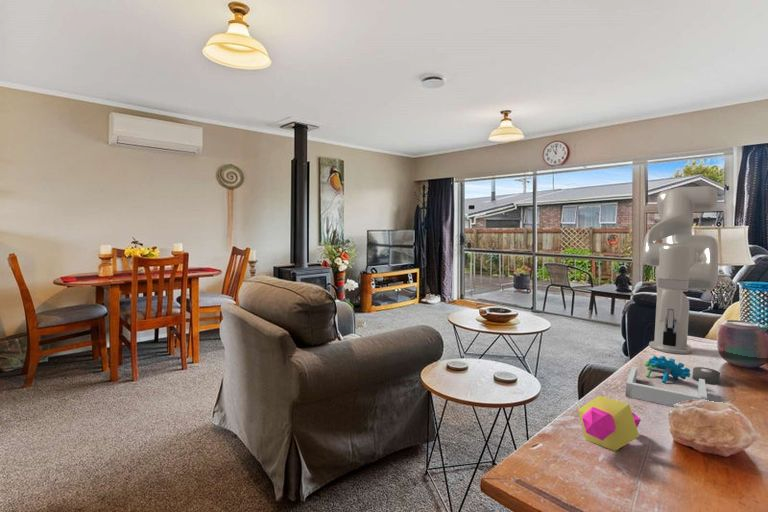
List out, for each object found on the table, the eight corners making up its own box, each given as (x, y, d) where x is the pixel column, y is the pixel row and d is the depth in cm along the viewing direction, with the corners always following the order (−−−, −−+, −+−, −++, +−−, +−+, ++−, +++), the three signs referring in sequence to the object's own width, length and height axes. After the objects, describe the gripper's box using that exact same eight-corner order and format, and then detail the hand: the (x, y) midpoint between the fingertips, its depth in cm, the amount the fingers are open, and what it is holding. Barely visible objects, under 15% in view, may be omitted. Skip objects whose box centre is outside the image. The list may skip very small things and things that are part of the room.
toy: (656, 445, 82) (638, 392, 87) (630, 453, 70) (612, 391, 74) (604, 448, 88) (590, 398, 93) (573, 455, 76) (558, 398, 81)
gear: (697, 378, 112) (682, 356, 109) (691, 396, 110) (676, 374, 107) (655, 370, 122) (640, 351, 119) (648, 387, 120) (633, 367, 117)
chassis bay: (631, 378, 116) (632, 366, 116) (703, 392, 107) (704, 379, 106) (625, 396, 104) (626, 383, 104) (706, 413, 94) (707, 399, 94)
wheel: (692, 374, 119) (693, 365, 119) (718, 379, 116) (719, 369, 115) (692, 381, 114) (693, 370, 114) (720, 386, 111) (720, 375, 111)
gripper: (658, 282, 130) (655, 338, 131) (656, 286, 118) (652, 348, 119) (688, 284, 125) (684, 342, 126) (688, 288, 113) (684, 352, 114)
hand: (669, 345), depth 122 cm, fingers closed
